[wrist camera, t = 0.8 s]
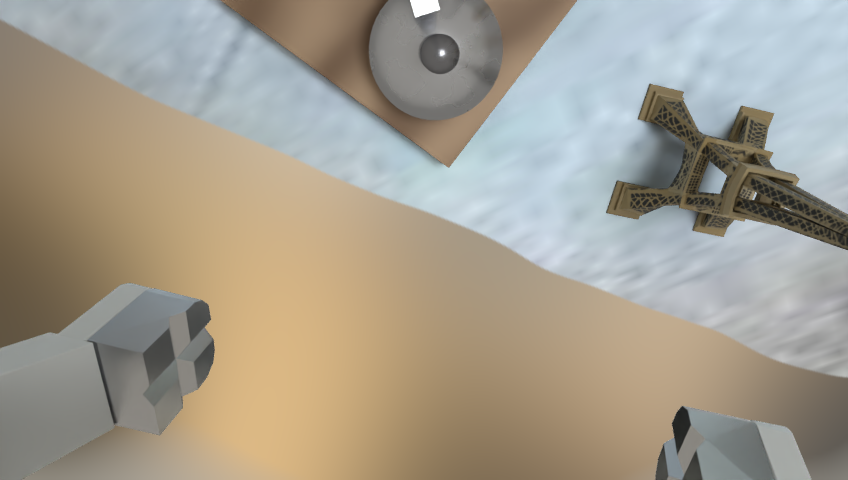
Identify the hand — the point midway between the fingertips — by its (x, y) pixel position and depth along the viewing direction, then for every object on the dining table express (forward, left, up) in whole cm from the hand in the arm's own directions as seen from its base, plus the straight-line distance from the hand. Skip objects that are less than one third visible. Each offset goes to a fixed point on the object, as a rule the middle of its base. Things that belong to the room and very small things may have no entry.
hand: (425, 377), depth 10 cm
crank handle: (-4, +8, -34) cm, 36 cm away
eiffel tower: (+22, +11, -37) cm, 44 cm away
